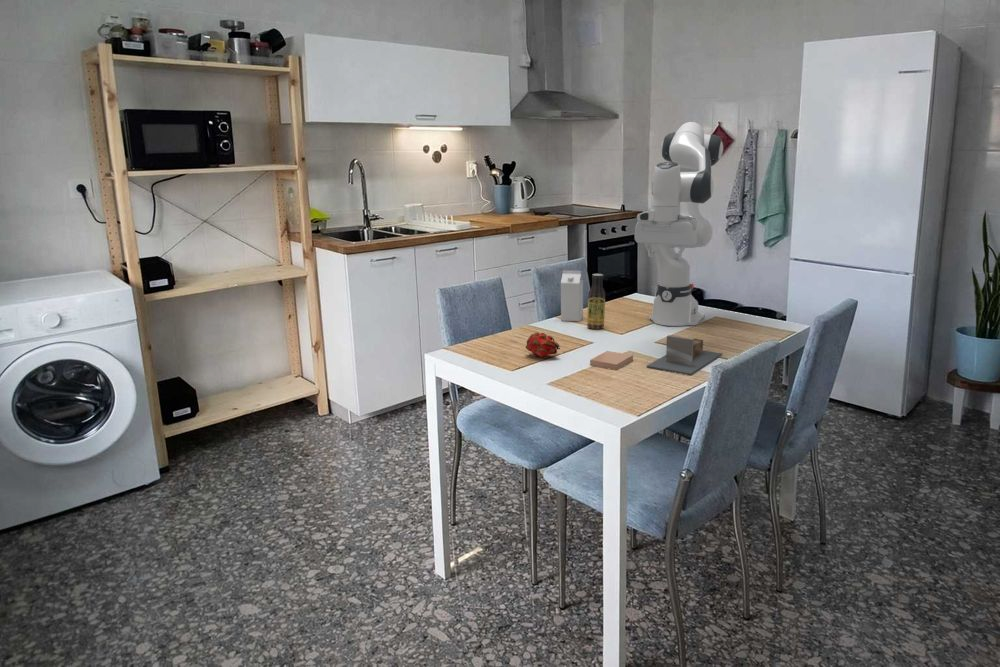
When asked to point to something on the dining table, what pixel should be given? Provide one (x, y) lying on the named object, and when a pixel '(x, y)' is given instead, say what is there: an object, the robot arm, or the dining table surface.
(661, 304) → the robot arm
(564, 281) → the milk carton
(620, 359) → the tile
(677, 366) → the mat
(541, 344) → the dragon fruit
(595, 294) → the sauce bottle
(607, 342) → the dining table surface
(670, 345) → the wooden post on base
